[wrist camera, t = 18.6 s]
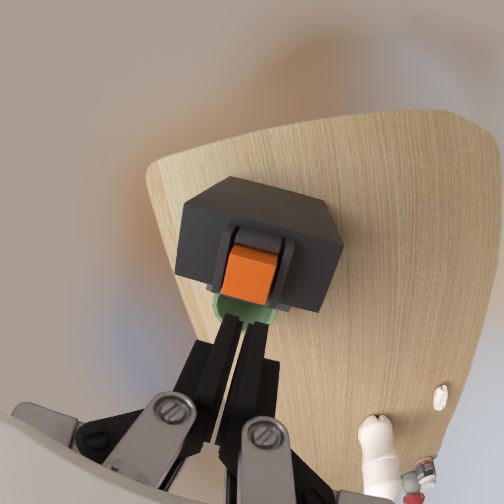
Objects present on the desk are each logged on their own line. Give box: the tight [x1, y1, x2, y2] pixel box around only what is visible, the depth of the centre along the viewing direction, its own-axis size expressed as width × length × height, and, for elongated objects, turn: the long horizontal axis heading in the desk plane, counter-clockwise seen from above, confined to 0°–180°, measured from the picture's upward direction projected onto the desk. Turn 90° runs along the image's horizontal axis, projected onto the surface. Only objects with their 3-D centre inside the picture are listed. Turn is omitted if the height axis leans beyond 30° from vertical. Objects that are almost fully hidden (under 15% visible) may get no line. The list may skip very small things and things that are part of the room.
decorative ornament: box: [401, 471, 425, 504], centre depth 52 cm, size 9×7×15 cm
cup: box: [212, 289, 278, 334], centre depth 35 cm, size 7×7×8 cm
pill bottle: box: [415, 457, 436, 490], centre depth 51 cm, size 6×6×10 cm
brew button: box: [222, 243, 278, 305], centre depth 20 cm, size 3×3×2 cm
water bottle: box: [358, 415, 402, 503], centre depth 38 cm, size 7×7×25 cm
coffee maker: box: [175, 176, 344, 313], centre depth 30 cm, size 16×12×18 cm
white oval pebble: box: [433, 385, 448, 411], centre depth 43 cm, size 3×8×3 cm, turn 22°
